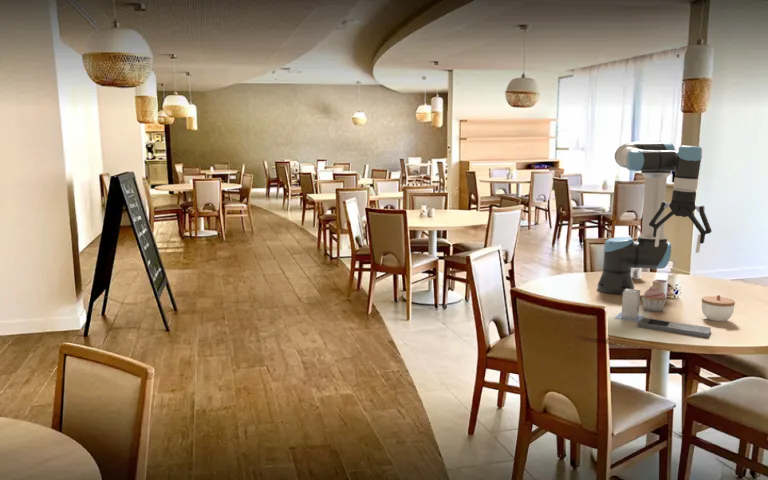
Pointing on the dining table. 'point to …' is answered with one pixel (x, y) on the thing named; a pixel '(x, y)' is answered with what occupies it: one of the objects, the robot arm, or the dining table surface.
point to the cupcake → (654, 299)
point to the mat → (629, 319)
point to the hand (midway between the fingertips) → (676, 249)
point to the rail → (674, 327)
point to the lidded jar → (717, 308)
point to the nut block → (630, 304)
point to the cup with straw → (636, 272)
